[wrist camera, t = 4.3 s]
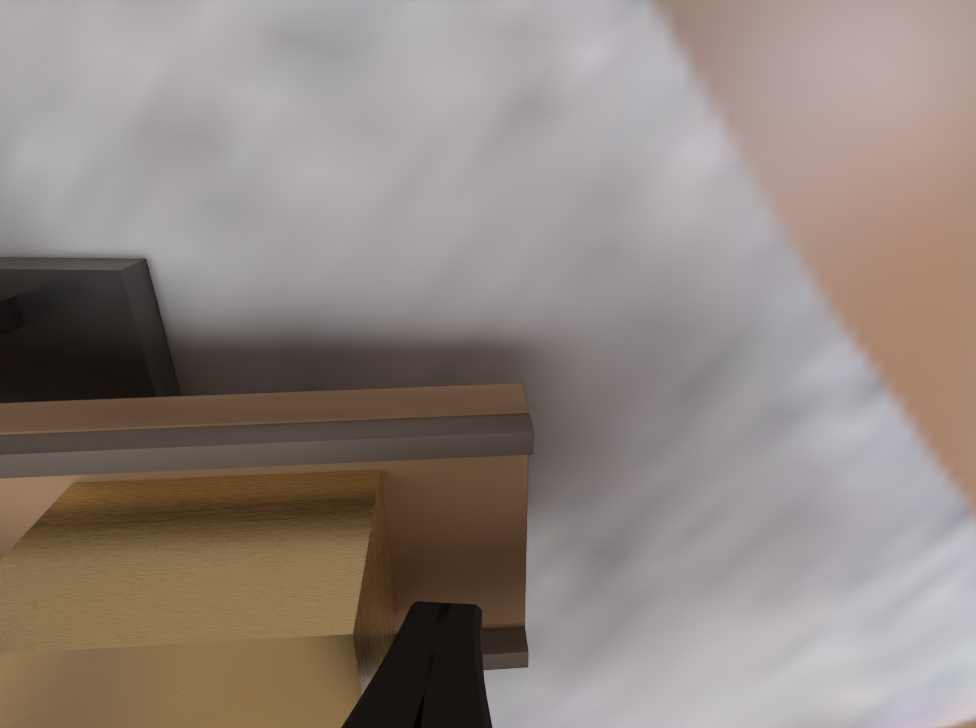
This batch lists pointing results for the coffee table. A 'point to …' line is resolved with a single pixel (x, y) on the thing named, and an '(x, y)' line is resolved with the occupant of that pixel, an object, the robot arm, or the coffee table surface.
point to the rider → (198, 603)
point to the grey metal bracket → (80, 331)
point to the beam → (319, 448)
